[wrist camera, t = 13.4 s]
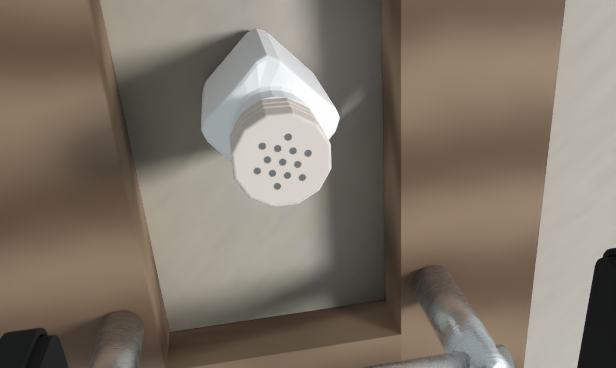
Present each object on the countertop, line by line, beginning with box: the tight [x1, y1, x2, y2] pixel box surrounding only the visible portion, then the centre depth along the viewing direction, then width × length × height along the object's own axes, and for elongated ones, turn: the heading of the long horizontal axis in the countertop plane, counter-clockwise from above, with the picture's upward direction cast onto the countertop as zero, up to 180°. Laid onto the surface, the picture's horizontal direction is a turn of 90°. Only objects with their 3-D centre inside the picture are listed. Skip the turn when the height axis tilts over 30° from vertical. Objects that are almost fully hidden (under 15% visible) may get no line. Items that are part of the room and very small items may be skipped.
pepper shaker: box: [201, 28, 340, 207], centre depth 23 cm, size 4×4×10 cm
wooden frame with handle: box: [0, 0, 565, 368], centre depth 27 cm, size 30×26×3 cm
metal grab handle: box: [89, 265, 514, 368], centre depth 25 cm, size 2×17×7 cm, turn 94°
